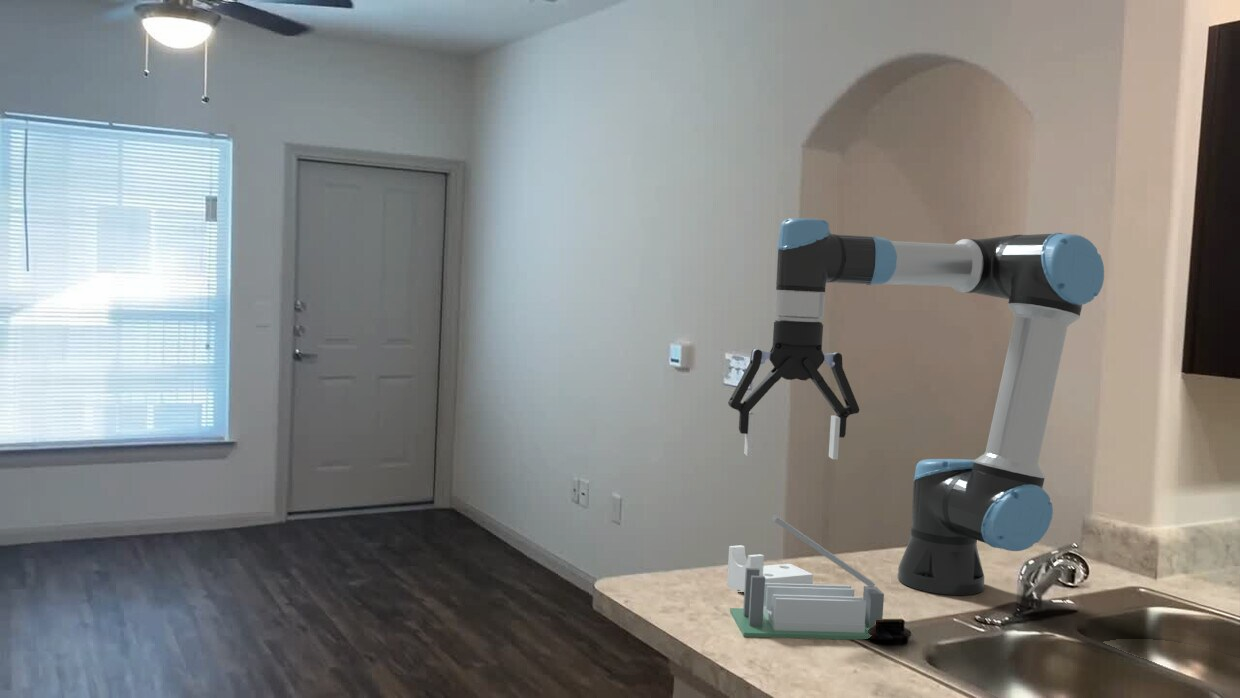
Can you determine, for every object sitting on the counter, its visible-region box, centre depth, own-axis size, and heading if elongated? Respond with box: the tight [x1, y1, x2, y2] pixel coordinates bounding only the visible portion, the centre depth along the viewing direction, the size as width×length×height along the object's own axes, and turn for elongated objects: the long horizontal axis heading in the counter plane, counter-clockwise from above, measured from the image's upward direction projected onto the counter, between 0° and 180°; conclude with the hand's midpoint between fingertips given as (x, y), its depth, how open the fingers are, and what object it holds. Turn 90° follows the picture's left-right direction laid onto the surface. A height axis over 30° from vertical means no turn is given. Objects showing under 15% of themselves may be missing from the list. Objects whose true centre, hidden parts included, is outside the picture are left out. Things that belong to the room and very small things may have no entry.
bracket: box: [726, 544, 814, 592], centre depth 186 cm, size 13×7×8 cm, turn 115°
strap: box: [771, 514, 876, 588], centre depth 167 cm, size 19×2×1 cm
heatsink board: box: [729, 568, 885, 640], centre depth 168 cm, size 23×12×8 cm, turn 94°
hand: (790, 456), depth 166 cm, fingers open, 13 cm apart
